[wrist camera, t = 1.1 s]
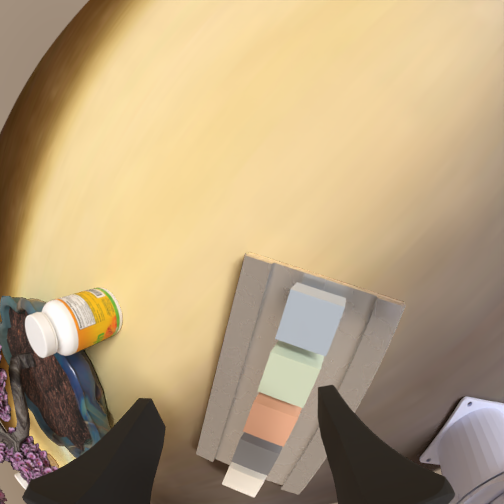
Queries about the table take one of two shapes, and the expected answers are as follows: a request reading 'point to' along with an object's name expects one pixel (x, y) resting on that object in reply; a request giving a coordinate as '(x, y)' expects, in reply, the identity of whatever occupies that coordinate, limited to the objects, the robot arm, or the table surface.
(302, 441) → the base
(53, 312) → the supplement bottle
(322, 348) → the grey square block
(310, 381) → the pale green square block
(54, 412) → the bonsai tree
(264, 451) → the key
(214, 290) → the table surface
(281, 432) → the key
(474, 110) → the table surface
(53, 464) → the sprinkles bottle
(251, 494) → the key
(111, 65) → the table surface
